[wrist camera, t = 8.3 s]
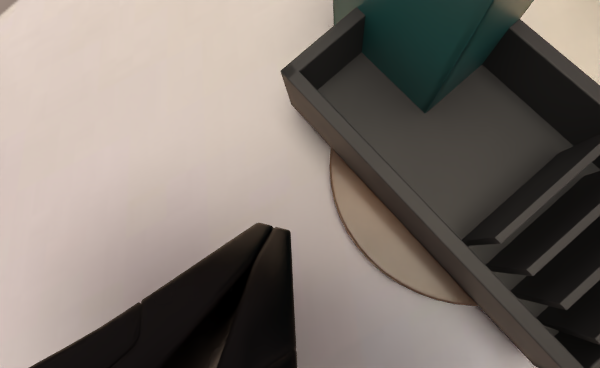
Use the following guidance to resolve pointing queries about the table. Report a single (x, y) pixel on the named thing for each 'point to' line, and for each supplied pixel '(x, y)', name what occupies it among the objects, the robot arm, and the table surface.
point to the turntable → (389, 238)
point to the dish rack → (472, 154)
